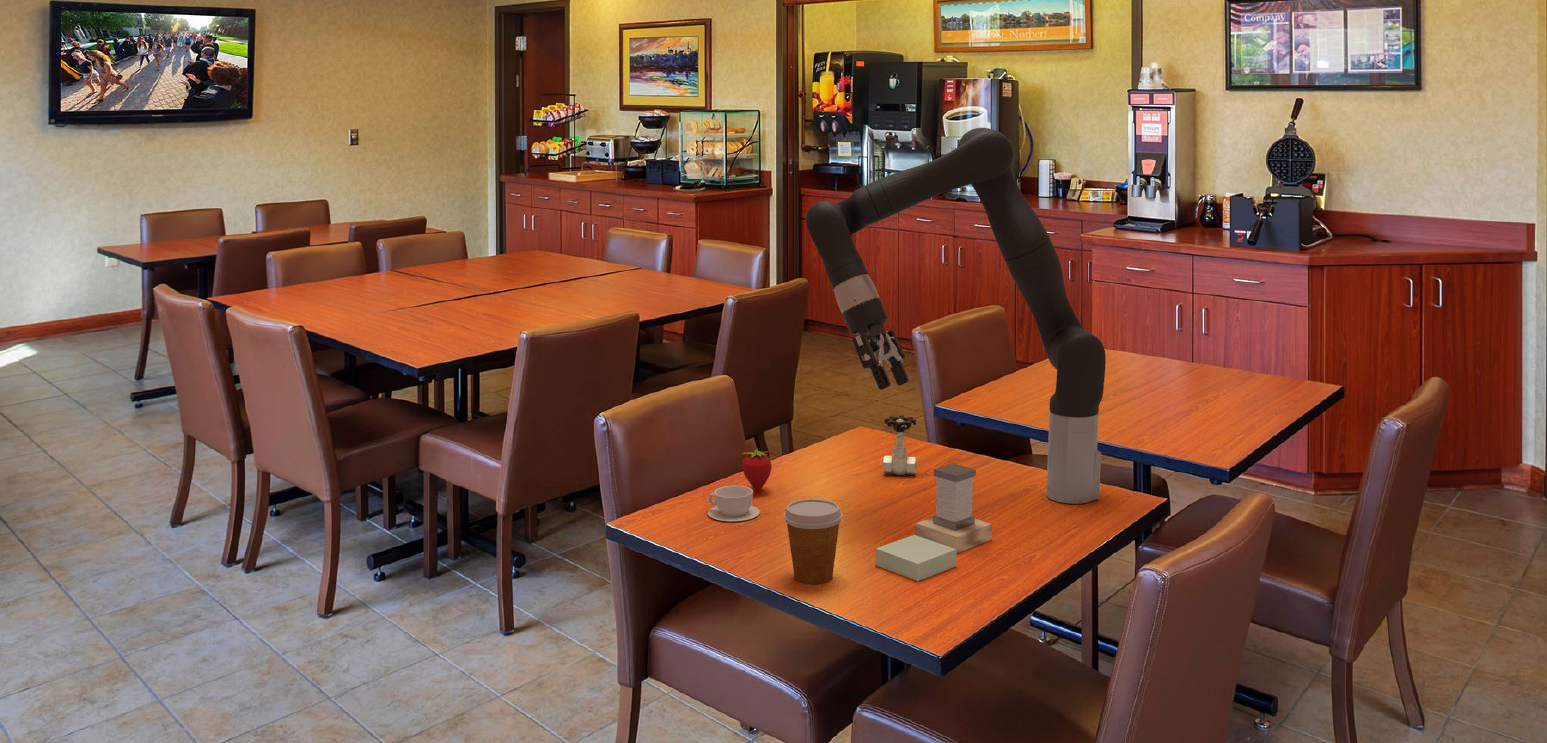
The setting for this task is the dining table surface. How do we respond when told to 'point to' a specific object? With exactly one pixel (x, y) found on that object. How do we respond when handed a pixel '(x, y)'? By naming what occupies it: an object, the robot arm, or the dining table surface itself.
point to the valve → (899, 448)
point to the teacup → (733, 504)
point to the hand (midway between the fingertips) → (894, 385)
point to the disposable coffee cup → (813, 538)
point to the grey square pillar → (954, 496)
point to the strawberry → (756, 468)
